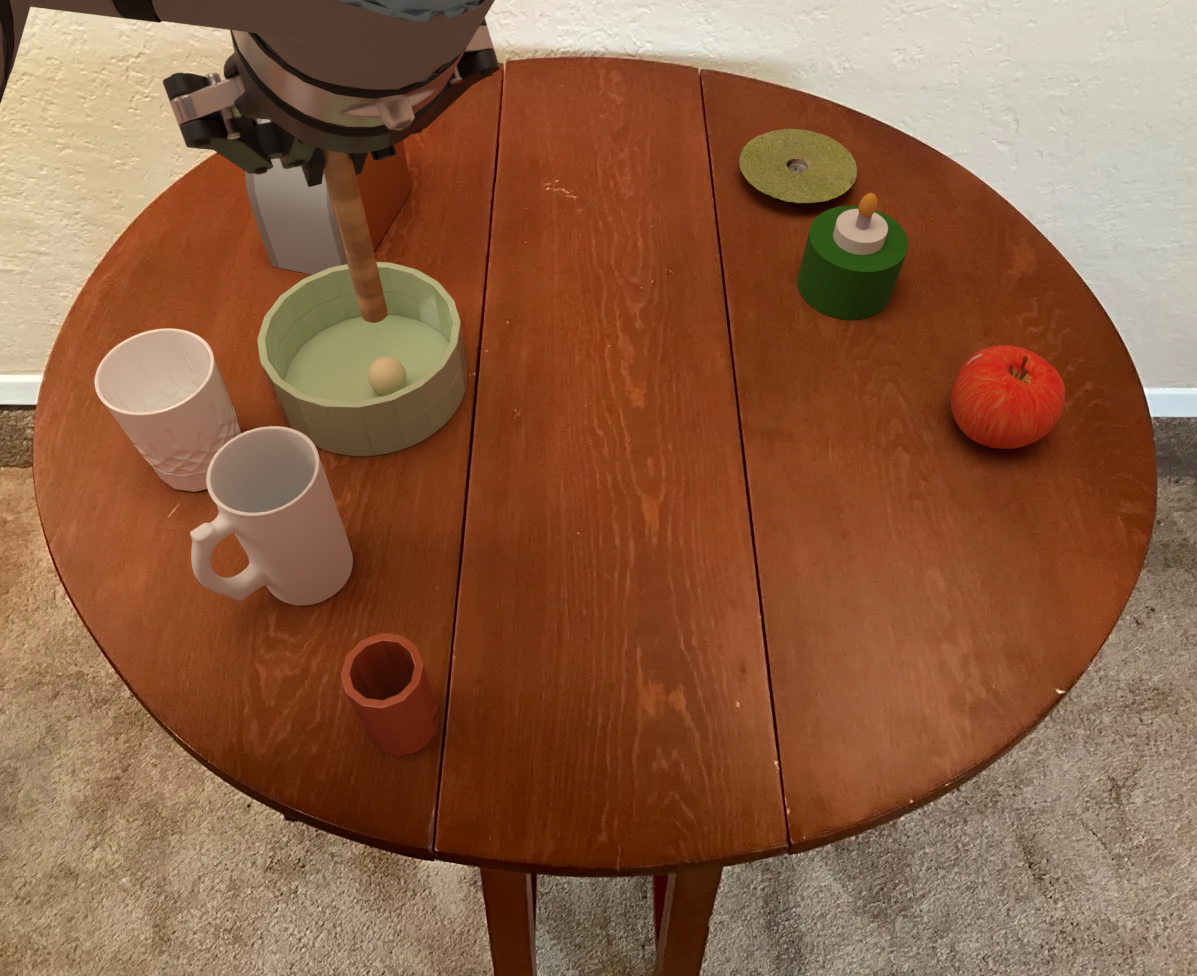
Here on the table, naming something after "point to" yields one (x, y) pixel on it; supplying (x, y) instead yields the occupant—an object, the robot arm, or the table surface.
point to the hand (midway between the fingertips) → (326, 156)
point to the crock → (391, 693)
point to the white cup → (169, 402)
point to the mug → (274, 519)
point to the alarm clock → (321, 211)
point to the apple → (1007, 397)
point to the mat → (798, 166)
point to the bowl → (364, 360)
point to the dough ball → (386, 375)
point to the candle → (852, 260)
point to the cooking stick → (354, 234)
